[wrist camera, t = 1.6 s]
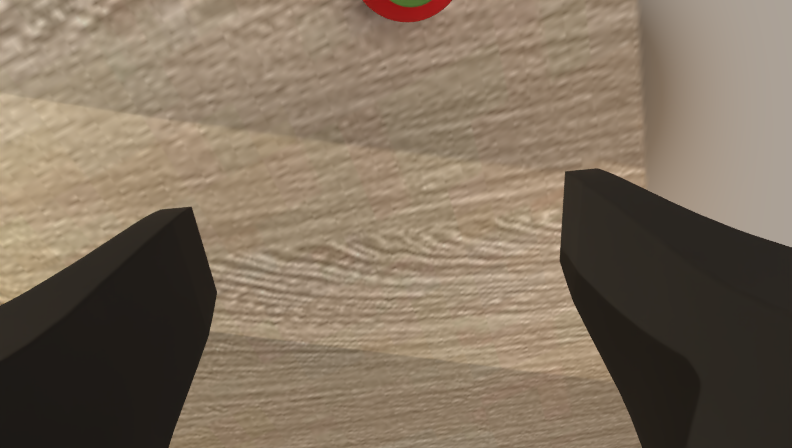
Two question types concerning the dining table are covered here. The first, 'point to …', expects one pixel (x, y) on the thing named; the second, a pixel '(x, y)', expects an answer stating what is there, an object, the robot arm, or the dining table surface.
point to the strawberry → (407, 9)
